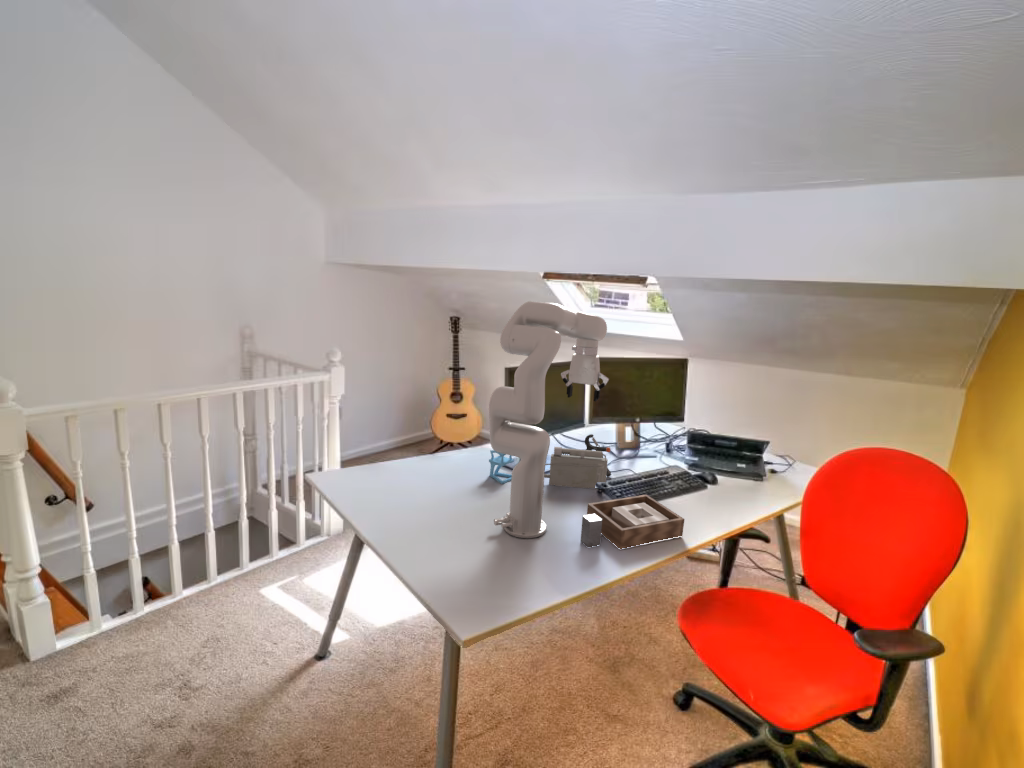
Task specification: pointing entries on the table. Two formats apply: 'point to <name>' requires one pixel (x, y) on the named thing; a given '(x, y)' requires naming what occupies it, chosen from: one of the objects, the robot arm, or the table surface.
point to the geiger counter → (577, 468)
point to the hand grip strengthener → (590, 447)
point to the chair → (499, 466)
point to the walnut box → (636, 520)
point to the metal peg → (591, 530)
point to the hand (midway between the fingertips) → (582, 398)
